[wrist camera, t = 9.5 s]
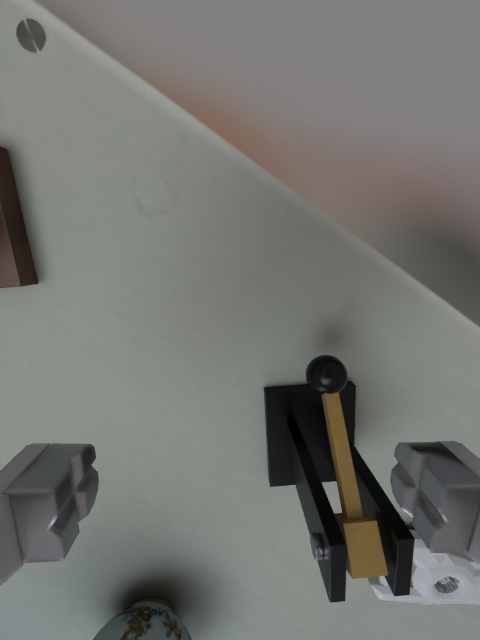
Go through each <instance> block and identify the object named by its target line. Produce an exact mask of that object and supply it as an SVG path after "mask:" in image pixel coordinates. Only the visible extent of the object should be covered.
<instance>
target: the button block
mask: <svg viewBox="0 0 480 640" xmlns="http://www.w3.org/2000/svg"><path fill="white" fill-rule="evenodd" d="M33 284H38V282H37V278H36V273H35V269H34V265H33V260H32V256H31V252H30V247H29V243H28V238H27V234H26V230H25V225H24V221H23V217H22V212H21V208H20V203H19V199H18V195H17V190H16V186H15V182H14V177H13V173H12V168H11V164H10V160H9V155H8V151H7V149H5V148H3V147H1V146H0V288H5V287H19V286H27V285H33Z"/></svg>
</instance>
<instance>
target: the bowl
mask: <svg viewBox="0 0 480 640" xmlns="http://www.w3.org/2000/svg"><path fill="white" fill-rule="evenodd" d="M93 640H191V637H190V635H189V633H188V631H187V629H186V628H185V626H184V625H183V623H182V622H181V621H180V620H179V619H178V618H177V617H176V616H175V611H174V609H173V607H172V605H171V604H170V603H168V602H166V601H164V600H161V599H158V598H145V599H140V600H138V601H137V602H135V603H133V604H132V605H131V606H130V607H129V608H128V610H125V611H123V612H121V613H120V614H118V615H117V616H115V617H114V618H112V619H111V620H110V621H109V622H108V623H107V624H106V625H105V626H104V627H103V628H102V629H101V630H100V631H99V632H98V634H97V635H96V636H95V637H94V639H93Z"/></svg>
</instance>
